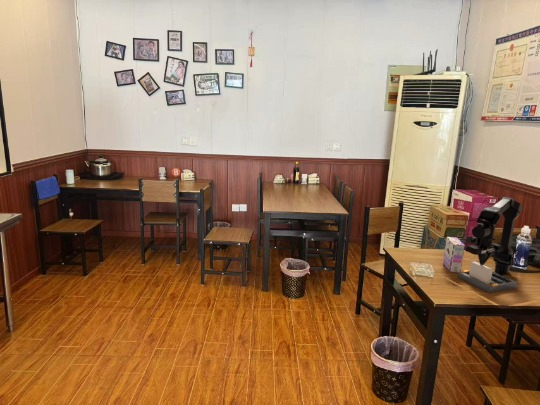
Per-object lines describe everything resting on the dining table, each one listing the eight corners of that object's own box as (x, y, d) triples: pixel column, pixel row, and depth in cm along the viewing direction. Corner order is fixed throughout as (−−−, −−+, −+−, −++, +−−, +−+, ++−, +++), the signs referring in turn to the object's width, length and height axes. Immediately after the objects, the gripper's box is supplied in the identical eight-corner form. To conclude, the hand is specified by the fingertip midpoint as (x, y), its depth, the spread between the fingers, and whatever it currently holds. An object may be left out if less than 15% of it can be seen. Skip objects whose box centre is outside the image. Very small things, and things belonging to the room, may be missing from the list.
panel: (471, 279, 185) (474, 261, 183) (489, 288, 176) (492, 269, 174) (468, 280, 184) (471, 261, 182) (485, 288, 175) (489, 269, 173)
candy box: (460, 274, 194) (465, 245, 190) (449, 273, 195) (453, 244, 191) (453, 264, 207) (457, 237, 203) (442, 263, 208) (446, 236, 204)
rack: (484, 275, 194) (485, 267, 193) (516, 289, 177) (518, 281, 176) (457, 279, 187) (458, 271, 186) (488, 295, 171) (489, 286, 170)
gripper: (486, 228, 185) (481, 257, 188) (458, 231, 178) (453, 260, 182) (506, 235, 175) (501, 265, 178) (478, 238, 168) (472, 269, 172)
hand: (481, 265), depth 178 cm, fingers closed
